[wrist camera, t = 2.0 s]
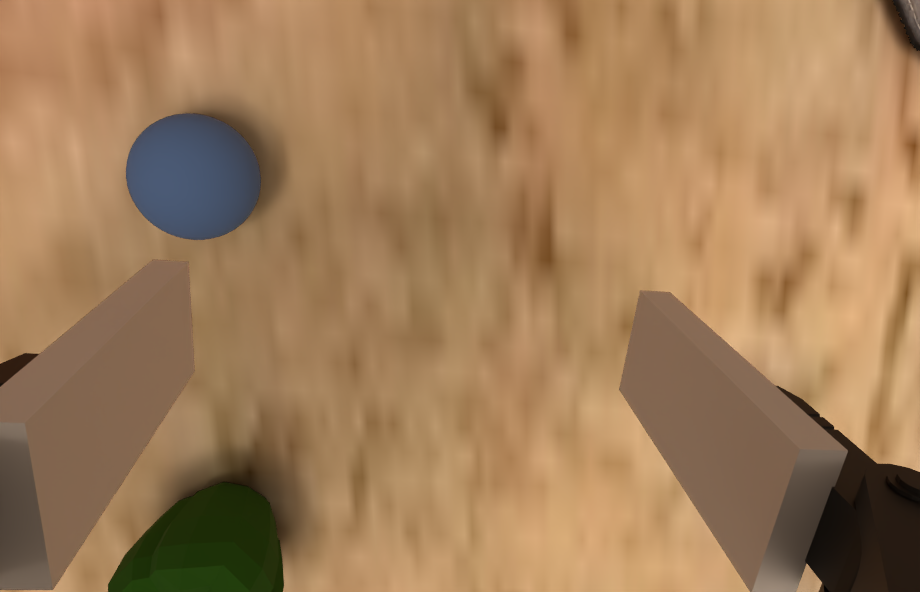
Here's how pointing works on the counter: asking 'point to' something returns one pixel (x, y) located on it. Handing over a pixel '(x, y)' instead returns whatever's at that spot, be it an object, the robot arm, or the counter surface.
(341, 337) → the counter surface
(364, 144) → the counter surface
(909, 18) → the food plate
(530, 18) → the counter surface
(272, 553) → the bell pepper
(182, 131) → the ball
